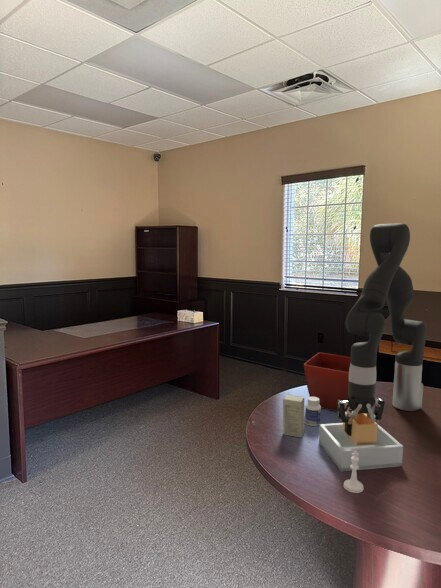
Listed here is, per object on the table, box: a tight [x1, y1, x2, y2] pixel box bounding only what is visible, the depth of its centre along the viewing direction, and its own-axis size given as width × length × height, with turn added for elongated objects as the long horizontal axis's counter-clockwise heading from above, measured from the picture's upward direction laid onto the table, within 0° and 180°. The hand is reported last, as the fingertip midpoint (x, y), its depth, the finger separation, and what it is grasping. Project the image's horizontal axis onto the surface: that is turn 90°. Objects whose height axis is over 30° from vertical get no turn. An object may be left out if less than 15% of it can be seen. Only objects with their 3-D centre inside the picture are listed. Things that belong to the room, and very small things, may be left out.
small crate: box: [342, 411, 379, 446], centre depth 121 cm, size 6×9×6 cm, turn 9°
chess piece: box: [343, 451, 364, 494], centre depth 106 cm, size 5×5×10 cm
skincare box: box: [282, 394, 305, 438], centre depth 134 cm, size 6×4×12 cm
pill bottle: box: [304, 396, 322, 427], centre depth 141 cm, size 5×5×9 cm
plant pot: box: [303, 352, 351, 413], centre depth 156 cm, size 19×19×17 cm
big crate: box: [318, 422, 404, 473], centre depth 122 cm, size 18×16×6 cm
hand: (359, 433), depth 121 cm, fingers closed on small crate, 6 cm apart
